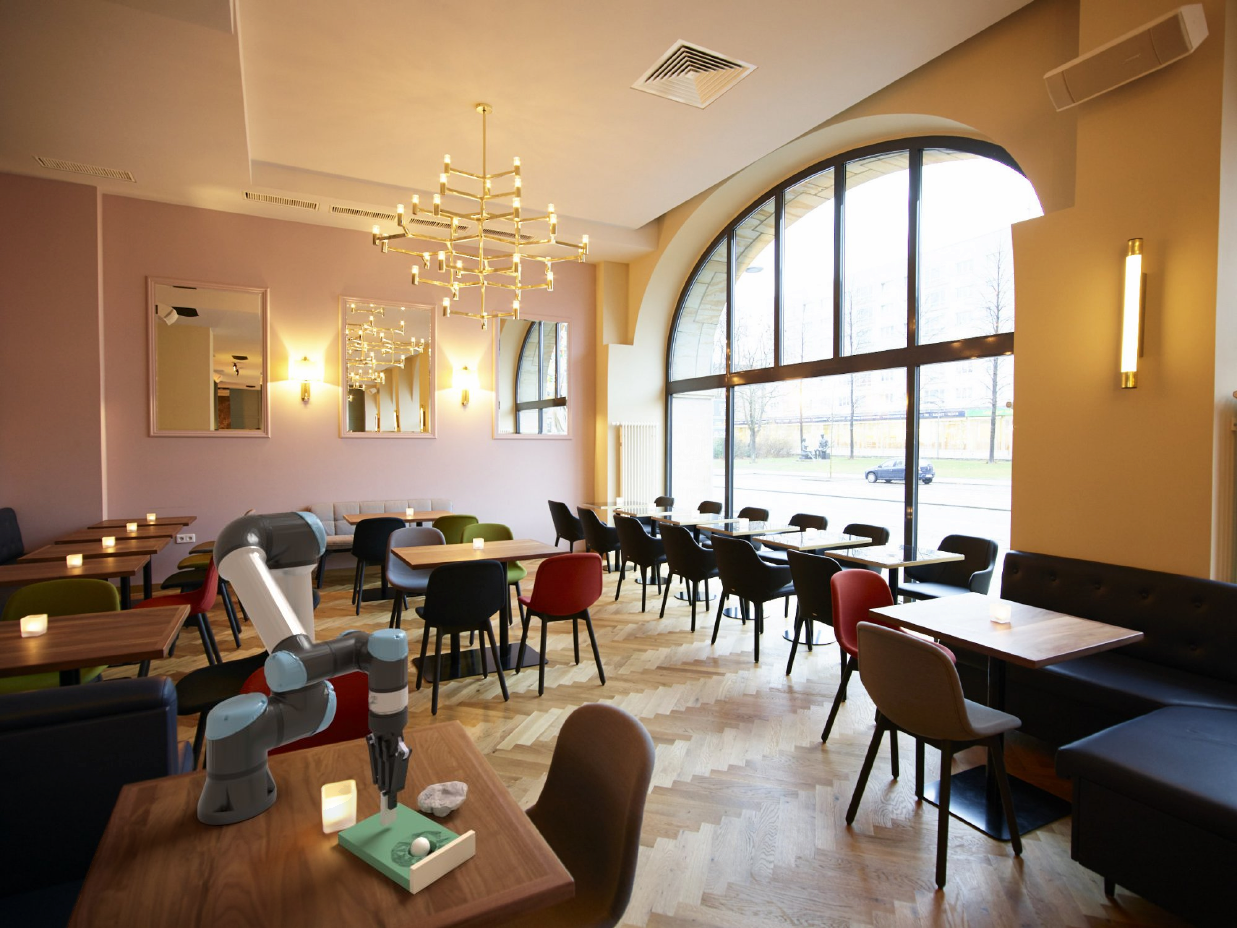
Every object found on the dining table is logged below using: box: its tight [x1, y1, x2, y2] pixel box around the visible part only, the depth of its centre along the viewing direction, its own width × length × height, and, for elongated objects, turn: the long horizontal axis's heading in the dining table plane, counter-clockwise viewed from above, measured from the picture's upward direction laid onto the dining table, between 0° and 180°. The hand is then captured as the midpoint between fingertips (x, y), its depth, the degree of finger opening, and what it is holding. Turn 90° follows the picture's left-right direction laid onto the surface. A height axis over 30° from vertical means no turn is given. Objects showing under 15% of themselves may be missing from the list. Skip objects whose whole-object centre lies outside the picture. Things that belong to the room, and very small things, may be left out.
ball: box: [410, 837, 430, 858], centre depth 122 cm, size 4×4×4 cm
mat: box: [337, 802, 476, 895], centre depth 125 cm, size 25×14×4 cm, turn 53°
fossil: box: [416, 780, 469, 818], centre depth 139 cm, size 9×6×10 cm
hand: (388, 821), depth 128 cm, fingers closed
